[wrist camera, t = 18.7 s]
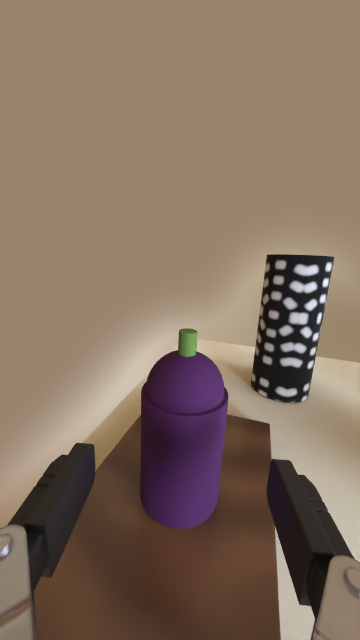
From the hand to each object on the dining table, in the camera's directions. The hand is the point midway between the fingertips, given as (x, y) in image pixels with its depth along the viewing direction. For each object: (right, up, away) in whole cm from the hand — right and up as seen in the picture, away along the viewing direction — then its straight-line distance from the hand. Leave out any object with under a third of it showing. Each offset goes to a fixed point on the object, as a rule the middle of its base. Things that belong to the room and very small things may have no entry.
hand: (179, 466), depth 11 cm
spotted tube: (+15, -4, +28) cm, 32 cm away
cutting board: (0, -8, +9) cm, 12 cm away
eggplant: (0, -7, +8) cm, 10 cm away
